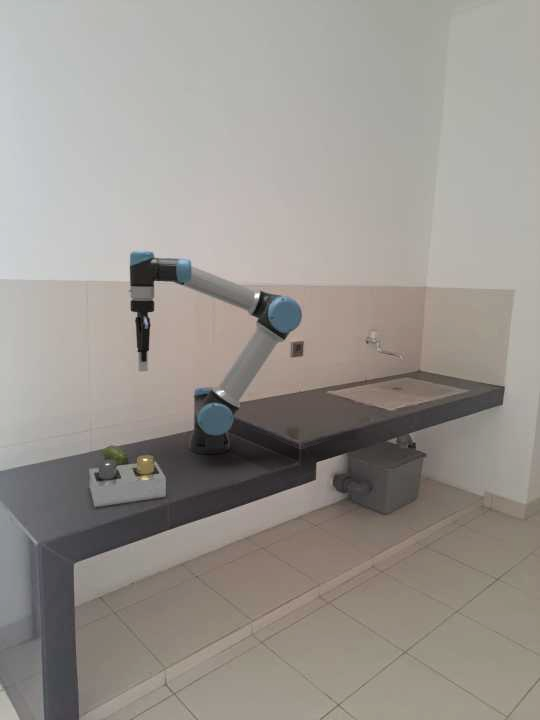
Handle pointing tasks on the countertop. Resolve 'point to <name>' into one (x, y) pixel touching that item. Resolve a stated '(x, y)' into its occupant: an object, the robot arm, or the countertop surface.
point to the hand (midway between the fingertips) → (143, 370)
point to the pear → (115, 455)
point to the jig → (124, 484)
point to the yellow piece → (145, 465)
